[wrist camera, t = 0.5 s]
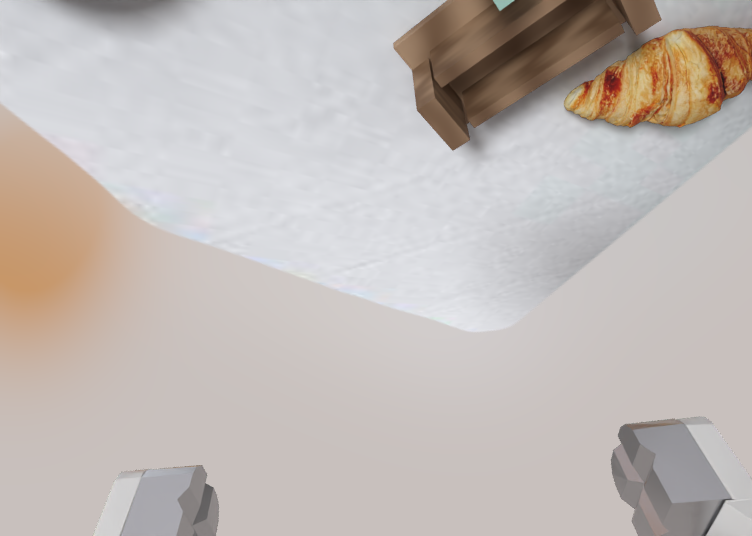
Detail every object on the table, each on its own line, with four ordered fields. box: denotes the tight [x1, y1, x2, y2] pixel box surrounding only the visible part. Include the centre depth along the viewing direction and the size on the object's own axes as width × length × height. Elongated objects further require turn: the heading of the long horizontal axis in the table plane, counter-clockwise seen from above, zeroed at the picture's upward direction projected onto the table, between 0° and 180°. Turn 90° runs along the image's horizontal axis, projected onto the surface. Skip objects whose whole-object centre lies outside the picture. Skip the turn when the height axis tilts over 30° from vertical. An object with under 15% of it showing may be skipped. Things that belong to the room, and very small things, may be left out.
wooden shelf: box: [393, 0, 661, 150], centre depth 48 cm, size 20×12×8 cm, turn 130°
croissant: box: [564, 26, 752, 128], centre depth 53 cm, size 21×10×8 cm, turn 109°
